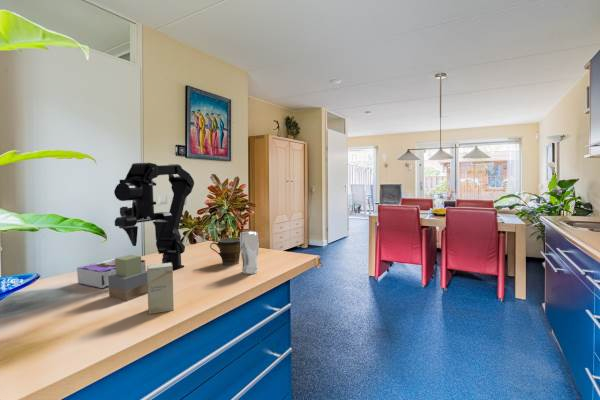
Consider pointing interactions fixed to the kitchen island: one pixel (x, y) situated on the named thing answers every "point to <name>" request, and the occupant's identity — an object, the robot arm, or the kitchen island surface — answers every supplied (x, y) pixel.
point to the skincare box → (160, 287)
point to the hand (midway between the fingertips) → (146, 243)
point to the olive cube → (128, 265)
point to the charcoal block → (127, 281)
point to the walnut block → (128, 293)
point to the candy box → (99, 273)
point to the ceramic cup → (229, 250)
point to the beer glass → (249, 251)
